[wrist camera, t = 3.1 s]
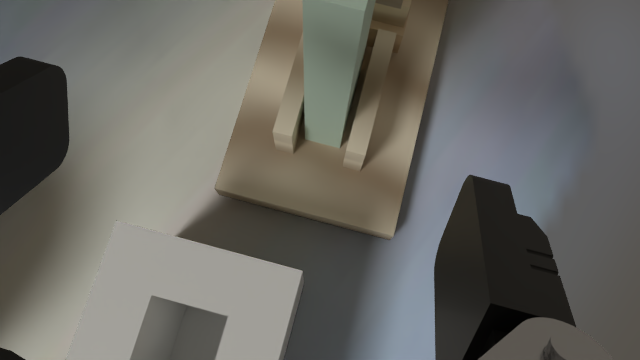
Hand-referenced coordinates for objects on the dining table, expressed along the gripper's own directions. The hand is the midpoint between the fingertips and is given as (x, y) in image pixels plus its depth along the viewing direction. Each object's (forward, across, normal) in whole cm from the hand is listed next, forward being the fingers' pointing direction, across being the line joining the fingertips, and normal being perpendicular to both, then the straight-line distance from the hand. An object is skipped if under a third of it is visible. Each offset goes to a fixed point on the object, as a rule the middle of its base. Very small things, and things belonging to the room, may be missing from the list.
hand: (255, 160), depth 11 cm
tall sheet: (+20, 0, +7) cm, 21 cm away
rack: (+22, 0, +6) cm, 23 cm away
